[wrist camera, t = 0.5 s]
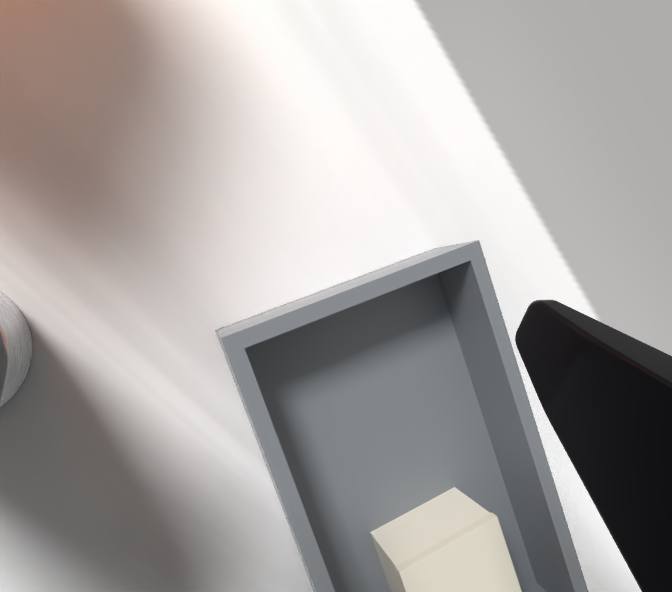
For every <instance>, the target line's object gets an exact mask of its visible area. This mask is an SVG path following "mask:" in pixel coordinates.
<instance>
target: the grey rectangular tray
mask: <svg viewBox="0 0 672 592" xmlns="http://www.w3.org/2000/svg"><path fill="white" fill-rule="evenodd" d="M216 333H217V336H218V338H219V341H220V344H221V346H222V349H223V352H224V354H225V357H226V359H227V362H228V365H229V367H230V370H231V373H232V375H233V378H234V381H235V383H236V386H237V389H238V391H239V394H240V397H241V399H242V402H243V405H244V407H245V410H246V412H247V415H248V418H249V420H250V423H251V426H252V428H253V431H254V434H255V436H256V439H257V442H258V444H259V447H260V450H261V452H262V455H263V458H264V460H265V463H266V465H267V468H268V471H269V473H270V476H271V479H272V481H273V484H274V487H275V489H276V492H277V495H278V497H279V500H280V503H281V505H282V508H283V511H284V513H285V516H286V519H287V521H288V524H289V526H290V529H291V532H292V534H293V537H294V540H295V542H296V545H297V548H298V550H299V553H300V556H301V558H302V561H303V564H304V566H305V569H306V572H307V574H308V577H309V579H310V582H311V585H312V587H313V590H314V592H391V589H390V586H389V583H388V581H387V578H386V575H385V572H384V569H383V567H382V564H381V561H380V558H379V555H378V553H377V550H376V547H375V544H374V542H373V539H372V536H371V533H370V532H372V531H374V530H375V529H377V528H379V527H381V526H383V525H385V524H387V523H389V522H390V521H392V520H394V519H396V518H398V517H400V516H402V515H403V514H405V513H407V512H409V511H411V510H413V509H415V508H416V507H418V506H420V505H422V504H424V503H426V502H428V501H430V500H431V499H433V498H435V497H437V496H439V495H441V494H443V493H444V492H446V491H448V490H450V489H452V488H454V487H455V488H457V489H458V490H460V491H461V492H462V493H464V494H465V495H466V496H468V497H469V498H470V499H472V500H473V501H475V502H476V503H477V504H479V505H480V506H481V507H483V508H484V509H485V510H487V511H488V512H490V513H491V512H492V513H494V514H495V515H496V516H497V517H498V521H499V524H500V527H501V530H502V533H503V536H504V539H505V542H506V545H507V548H508V551H509V554H510V557H511V560H512V563H513V566H514V569H515V573H516V576H517V579H518V582H519V585H520V588H521V591H522V592H588V590H587V586H586V583H585V580H584V577H583V574H582V570H581V567H580V564H579V561H578V557H577V554H576V551H575V548H574V545H573V541H572V538H571V535H570V532H569V529H568V525H567V522H566V519H565V516H564V512H563V509H562V506H561V503H560V500H559V496H558V493H557V490H556V487H555V483H554V480H553V477H552V474H551V471H550V467H549V464H548V461H547V458H546V455H545V451H544V448H543V445H542V442H541V438H540V435H539V432H538V429H537V426H536V422H535V419H534V416H533V413H532V409H531V406H530V403H529V400H528V397H527V393H526V390H525V387H524V384H523V381H522V377H521V374H520V371H519V368H518V364H517V361H516V358H515V355H514V352H513V348H512V345H511V342H510V339H509V335H508V332H507V329H506V326H505V323H504V319H503V316H502V313H501V310H500V307H499V303H498V300H497V297H496V294H495V290H494V287H493V284H492V281H491V278H490V274H489V271H488V268H487V265H486V261H485V258H484V255H483V252H482V249H481V245H480V242H479V240H478V241H473V242H467V243H462V244H456V245H451V246H445V247H440V248H435V249H432V250H430V251H427V252H424V253H422V254H419V255H416V256H414V257H411V258H408V259H406V260H403V261H400V262H398V263H395V264H392V265H390V266H387V267H384V268H382V269H379V270H376V271H373V272H371V273H368V274H365V275H363V276H360V277H357V278H355V279H352V280H349V281H347V282H344V283H341V284H339V285H336V286H333V287H331V288H328V289H325V290H323V291H320V292H317V293H315V294H312V295H309V296H307V297H304V298H301V299H298V300H296V301H293V302H290V303H288V304H285V305H282V306H280V307H277V308H274V309H272V310H269V311H266V312H264V313H261V314H258V315H256V316H253V317H250V318H248V319H245V320H242V321H240V322H237V323H234V324H232V325H229V326H226V327H223V328H221V329H218V330H216Z"/></svg>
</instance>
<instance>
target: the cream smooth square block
mask: <svg viewBox="0 0 672 592" xmlns="http://www.w3.org/2000/svg"><path fill="white" fill-rule="evenodd" d="M370 533H371V536H372V539H373V542H374V544H375V547H376V550H377V553H378V555H379V558H380V561H381V564H382V567H383V569H384V572H385V575H386V578H387V581H388V583H389V586H390V589H391V592H522V591H521V588H520V585H519V582H518V579H517V576H516V573H515V569H514V566H513V563H512V560H511V557H510V554H509V551H508V548H507V545H506V542H505V539H504V536H503V533H502V530H501V527H500V524H499V521H498V517H497V516H496V515H495V514H494V513H492V512H491V513H490V512H488V511H487V510H485V509H484V508H483V507H481V506H480V505H479V504H477V503H476V502H475V501H473V500H472V499H470V498H469V497H468V496H466V495H465V494H464V493H462V492H461V491H460V490H458V489H457V488H455V487H454V488H452V489H450V490H448V491H446V492H444V493H443V494H441V495H439V496H437V497H435V498H433V499H431V500H430V501H428V502H426V503H424V504H422V505H420V506H418V507H416V508H415V509H413V510H411V511H409V512H407V513H405V514H403V515H402V516H400V517H398V518H396V519H394V520H392V521H390V522H389V523H387V524H385V525H383V526H381V527H379V528H377V529H375V530H374V531H372V532H370Z"/></svg>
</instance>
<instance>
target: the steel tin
mask: <svg viewBox="0 0 672 592" xmlns="http://www.w3.org/2000/svg"><path fill="white" fill-rule="evenodd" d="M0 331H1V335H2V338H3V341H4V345H5V348H6V351H7V356H8V368H7V374H6V378H5V383H4V388H3V392H2V397H1V402H0V407H1V406H2V405H3V404H5V403H6V402H7V401H8V400H9V399H10V398H11V397H12V396H13V395H14V394H15V393H16V392H17V390H18V389H19V388H20V386H21V385H22V383H23V381H24V380H25V378H26V375H27V373H28V371H29V367H30V364H31V359H32V339H31V333H30V330H29V327H28V324H27V322H26V320H25V318H24V316H23V314H22V313H21V312H20V310H19V309H18V307H17V306H16V305H15V304H14V303H13V302H12V301H11V300H10V299H9V298H8V297H6V296H5V295H4V294H3V293H1V292H0Z"/></svg>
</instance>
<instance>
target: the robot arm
mask: <svg viewBox="0 0 672 592" xmlns="http://www.w3.org/2000/svg"><path fill="white" fill-rule="evenodd" d="M515 341H516V345H517V348H518V350H519V353H520V355H521V357H522V360H523V362H524V364H525V367H526V369H527V372H528V374H529V376H530V379H531V381H532V383H533V386H534V388H535V390H536V393H537V395H538V398H539V400H540V402H541V404H542V407H543V409H544V411H545V413H546V415H547V417H548V419H549V421H550V423H551V425H552V427H553V428H554V430H555V432H556V434H557V436H558V438H559V439H560V441H561V443H562V445H563V447H564V449H565V451H566V452H567V454H568V456H569V458H570V460H571V462H572V463H573V465H574V467H575V469H576V471H577V473H578V475H579V476H580V478H581V480H582V482H583V484H584V486H585V487H586V489H587V491H588V493H589V495H590V497H591V499H592V500H593V502H594V504H595V506H596V508H597V510H598V511H599V513H600V515H601V517H602V519H603V521H604V523H605V524H606V526H607V528H608V530H609V532H610V534H611V535H612V537H613V539H614V541H615V543H616V545H617V547H618V548H619V550H620V552H621V554H622V556H623V558H624V559H625V561H626V563H627V565H628V567H629V569H630V571H631V572H632V574H633V576H634V578H635V580H636V582H637V583H638V585H639V587H640V589H641V591H642V592H672V356H670V355H668V354H666V353H664V352H662V351H660V350H658V349H656V348H653V347H651V346H649V345H647V344H645V343H643V342H641V341H638V340H636V339H635V338H633V337H630V336H628V335H626V334H624V333H622V332H620V331H618V330H616V329H614V328H612V327H609V326H607V325H605V324H603V323H601V322H599V321H597V320H595V319H593V318H591V317H589V316H586V315H584V314H582V313H580V312H578V311H576V310H574V309H572V308H570V307H568V306H566V305H563V304H561V303H559V302H557V301H554V300H536V301H534V302H532V303H531V304H530V305H529V307H528V309H527V311H526V313H525V315H524V317H523V319H522V321H521V324H520V326H519V328H518V330H517V332H516V337H515ZM7 368H8V356H7V351H6V348H5V345H4V341H3V338H2V335H1V331H0V402H1V397H2V392H3V388H4V383H5V378H6V374H7Z"/></svg>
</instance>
